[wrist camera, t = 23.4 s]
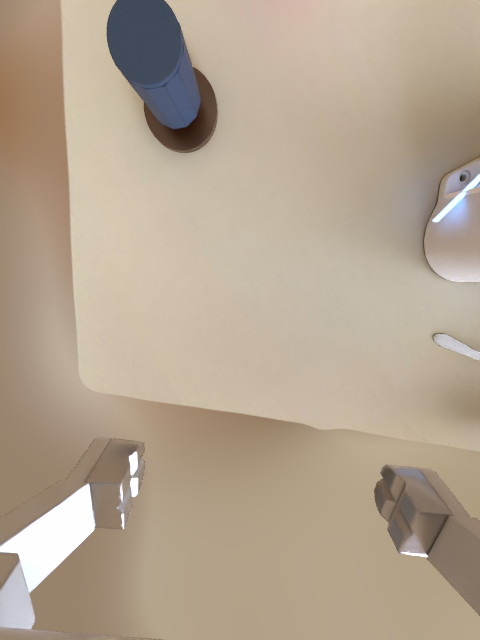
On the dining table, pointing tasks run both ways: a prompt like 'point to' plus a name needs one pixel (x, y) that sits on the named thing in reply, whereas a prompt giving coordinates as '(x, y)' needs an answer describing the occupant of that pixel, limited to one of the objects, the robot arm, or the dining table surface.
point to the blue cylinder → (154, 59)
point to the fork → (456, 346)
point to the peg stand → (197, 129)
